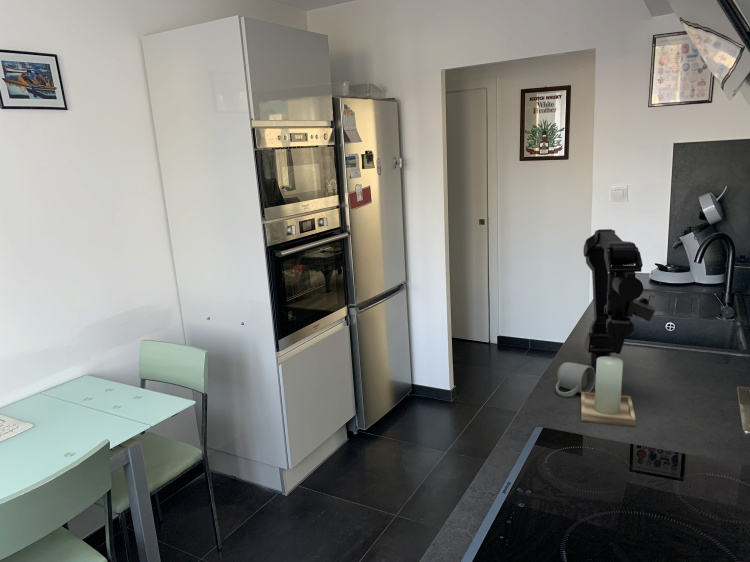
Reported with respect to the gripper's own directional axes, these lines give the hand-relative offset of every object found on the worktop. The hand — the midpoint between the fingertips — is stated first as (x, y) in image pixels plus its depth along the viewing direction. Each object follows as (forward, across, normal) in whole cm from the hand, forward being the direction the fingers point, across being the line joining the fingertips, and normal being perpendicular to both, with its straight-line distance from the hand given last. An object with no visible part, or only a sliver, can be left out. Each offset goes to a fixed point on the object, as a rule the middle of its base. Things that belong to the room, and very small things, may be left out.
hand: (616, 348), depth 148 cm
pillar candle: (+12, -12, +2) cm, 17 cm away
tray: (+13, -12, +2) cm, 18 cm away
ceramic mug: (+13, -1, +10) cm, 17 cm away
